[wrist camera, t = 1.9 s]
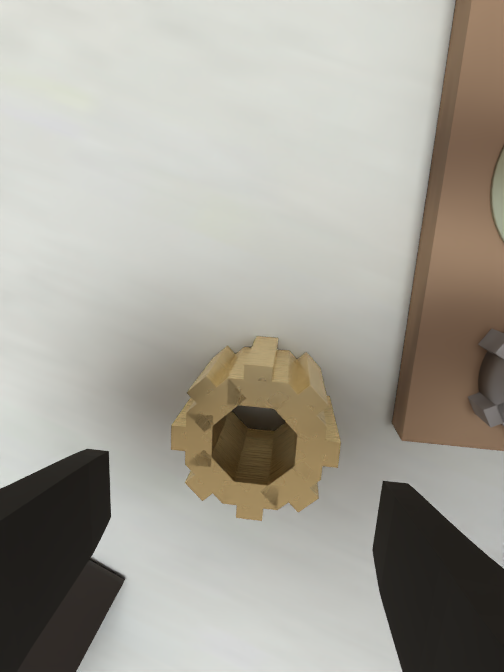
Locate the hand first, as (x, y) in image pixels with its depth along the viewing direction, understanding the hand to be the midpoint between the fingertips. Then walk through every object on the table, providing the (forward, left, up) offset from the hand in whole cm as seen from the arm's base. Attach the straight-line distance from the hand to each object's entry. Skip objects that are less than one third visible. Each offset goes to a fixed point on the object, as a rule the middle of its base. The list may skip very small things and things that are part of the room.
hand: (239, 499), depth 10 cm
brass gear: (0, 0, -7) cm, 7 cm away
